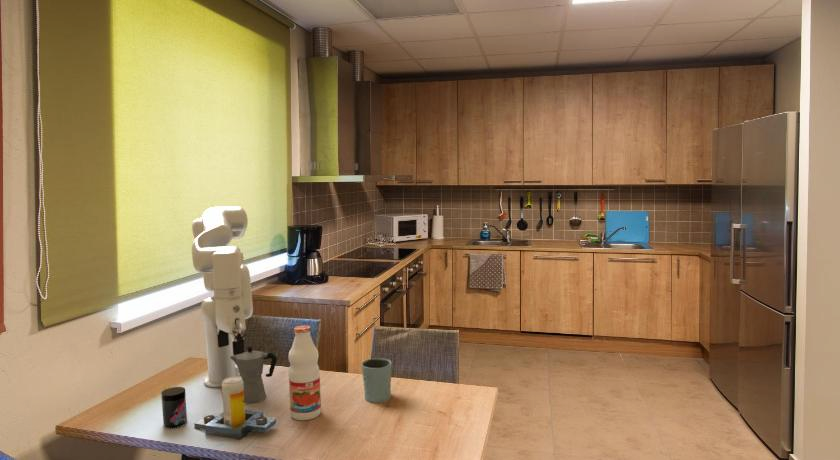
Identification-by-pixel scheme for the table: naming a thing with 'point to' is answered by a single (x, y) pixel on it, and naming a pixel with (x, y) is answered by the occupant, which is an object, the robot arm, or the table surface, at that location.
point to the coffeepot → (253, 373)
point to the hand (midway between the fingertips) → (231, 349)
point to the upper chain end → (252, 424)
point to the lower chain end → (207, 419)
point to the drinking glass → (377, 379)
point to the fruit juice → (304, 376)
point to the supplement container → (174, 407)
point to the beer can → (233, 401)
